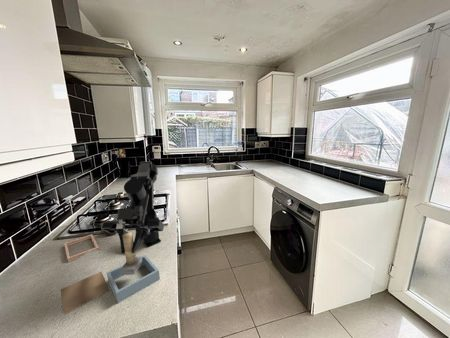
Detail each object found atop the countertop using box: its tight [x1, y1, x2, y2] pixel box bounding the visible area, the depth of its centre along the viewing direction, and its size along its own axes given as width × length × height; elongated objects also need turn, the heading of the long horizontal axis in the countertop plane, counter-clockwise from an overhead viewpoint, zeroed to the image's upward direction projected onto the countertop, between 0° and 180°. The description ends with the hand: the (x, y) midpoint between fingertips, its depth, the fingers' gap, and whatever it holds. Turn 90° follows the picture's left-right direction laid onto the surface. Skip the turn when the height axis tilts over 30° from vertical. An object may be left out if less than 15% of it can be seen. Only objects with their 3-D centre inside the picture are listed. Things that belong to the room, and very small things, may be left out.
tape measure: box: [103, 230, 116, 236], centre depth 97 cm, size 7×7×4 cm
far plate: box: [60, 271, 110, 315], centre depth 60 cm, size 11×12×1 cm
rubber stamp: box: [121, 231, 143, 276], centre depth 61 cm, size 6×4×12 cm, turn 2°
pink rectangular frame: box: [63, 233, 100, 263], centre depth 85 cm, size 11×16×2 cm
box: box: [106, 254, 161, 304], centre depth 63 cm, size 13×12×4 cm
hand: (127, 253), depth 60 cm, fingers closed on rubber stamp, 3 cm apart
